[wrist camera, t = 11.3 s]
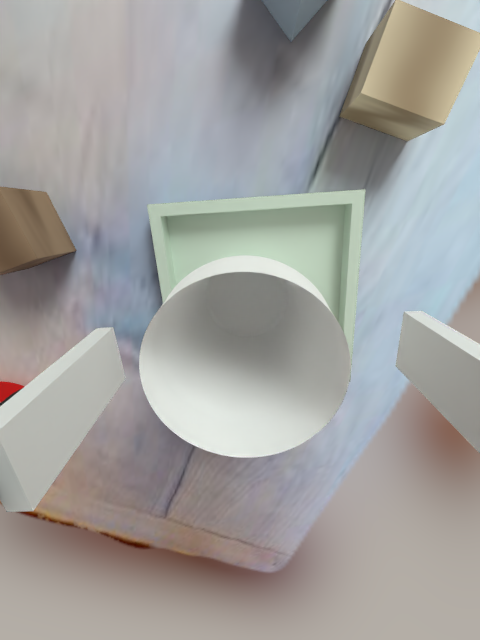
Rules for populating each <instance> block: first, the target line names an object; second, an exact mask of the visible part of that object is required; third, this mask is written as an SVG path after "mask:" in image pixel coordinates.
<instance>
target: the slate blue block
mask: <svg viewBox="0 0 480 640" xmlns="http://www.w3.org/2000/svg"><path fill="white" fill-rule="evenodd" d="M326 1H327V0H262V2H263V3H264V5H265V6H266V7H267V9H268V10H269V12H270V13H271V15H272V16H273V17H274V19H275V20H276V22H277V23H278V24H279V26H280V27H281V29H282V30H283V32H284V33H285V34H286V36H287V37H288V39H289V40H290V42H291V41H292V40H293V39H294V38H295V37H296V36H297V35H298V33H299V32H300V31H301V30H302V29H303V28H304V27H305V25H306V24H307V23H308V22H309V21H310V20H311V19H312V17H313V16H314V15H315V14H316V13H317V12H318V11H319V9H320V8H321V7H322V6H323V5H324V4H325V3H326Z"/></svg>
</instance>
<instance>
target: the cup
mask: <svg viewBox="0 0 480 640" xmlns="http://www.w3.org/2000/svg"><path fill="white" fill-rule="evenodd" d="M350 369H351V362H350V353H349V348H348V344H347V340H346V337H345V335H344V333H343V330H342V328H341V326H340V324H339V323H338V321H337V319H336V318H335V316H334V315H333V313H332V312H331V310H330V308H329V306H328V304H327V303H326V301H325V299H324V297H323V296H322V294H321V293H320V292H319V290H318V289H317V288H316V287H315V286H314V285H313V284H312V283H311V282H310V281H309V280H308V279H307V278H306V277H305V276H303V275H302V274H301V273H299V272H298V271H296V270H295V269H293V268H291V267H289V266H287V265H286V264H283V263H281V262H279V261H276V260H272V259H269V258H265V257H260V256H250V255H240V256H231V257H226V258H221V259H218V260H215V261H212V262H210V263H207V264H205V265H203V266H201V267H199V268H197V269H196V270H194V271H193V272H191V273H190V274H188V275H187V276H186V277H185V278H183V279H182V280H181V281H180V282H179V283H178V284H177V285H176V286H175V287H174V289H173V290H172V291H171V293H170V294H169V295H168V297H167V299H166V300H165V302H164V303H163V305H162V306H161V307H160V309H159V310H158V311H157V313H156V314H155V315H154V317H153V318H152V320H151V322H150V324H149V325H148V327H147V330H146V332H145V334H144V337H143V341H142V344H141V349H140V357H139V371H140V378H141V382H142V386H143V390H144V392H145V395H146V397H147V399H148V401H149V404H150V405H151V407H152V409H153V410H154V412H155V413H156V414H157V416H158V417H159V418H160V420H161V421H162V422H163V423H164V424H165V425H166V426H167V427H168V428H169V429H170V430H171V431H173V432H174V433H175V434H176V435H178V436H179V437H180V438H182V439H184V440H185V441H187V442H188V443H190V444H192V445H194V446H196V447H199V448H201V449H203V450H206V451H209V452H212V453H216V454H219V455H224V456H230V457H244V458H250V457H262V456H268V455H273V454H277V453H281V452H284V451H287V450H289V449H292V448H294V447H296V446H298V445H300V444H302V443H304V442H306V441H307V440H309V439H310V438H312V437H313V436H314V435H316V434H317V433H318V432H319V431H321V430H322V429H323V428H324V427H325V426H326V425H327V424H328V423H329V421H330V420H331V419H332V418H333V416H334V415H335V414H336V412H337V411H338V409H339V407H340V405H341V404H342V402H343V400H344V397H345V394H346V392H347V388H348V384H349V379H350Z"/></svg>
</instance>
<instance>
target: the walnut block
mask: <svg viewBox="0 0 480 640" xmlns="http://www.w3.org/2000/svg"><path fill="white" fill-rule="evenodd" d="M74 251H76V249H75V247H74V245H73V243H72V241H71V239H70V237H69V235H68V233H67V231H66V229H65V227H64V226H63V224H62V222H61V220H60V218H59V216H58V214H57V212H56V210H55V208H54V206H53V204H52V202H51V200H50V198H49V196H48V194H47V192H41V191H33V190H24V189H16V188H7V187H0V275H2V274H7V273H11V272H15V271H19V270H24V269H28V268H31V267H34V266H36V265H39V264H42V263H44V262H47V261H50V260H53V259H55V258H58V257H61V256H63V255H66V254H69V253H72V252H74Z"/></svg>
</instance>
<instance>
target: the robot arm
mask: <svg viewBox="0 0 480 640" xmlns="http://www.w3.org/2000/svg"><path fill="white" fill-rule="evenodd" d="M396 367H397V368H398V369H399V370H400V371H401V372H402V373H403V374H404V375H405V376H406V377H407V378H408V379H409V380H410V382H411V383H412V384H413V385H414V386H415V387H416V388H417V389H418V390H419V391H420V392H421V393H422V394H423V395H424V396H425V397H426V398H427V399H428V400H429V401H430V402H431V403H432V404H433V405H434V406H435V407H436V408H437V410H438V411H440V413H441V414H442V415H443V416H444V417H445V418H446V419H447V420H448V421H449V422H450V423H451V424H452V425H453V426H454V427H455V428H456V429H457V430H458V431H459V432H460V433H461V434H462V435H463V437H464V438H465V439H467V441H468V442H469V443H470V444H471V445H472V446H473V447H474V448H475V449H476V450H477V451H478V452H479V453H480V344H478V343H477V342H475V341H473V340H471V339H470V338H468V337H466V336H464V335H463V334H461V333H459V332H458V331H456V330H454V329H452V328H451V327H449V326H447V325H445V324H444V323H442V322H440V321H438V320H437V319H435V318H433V317H431V316H430V315H428V314H426V313H424V312H423V311H409V312H404V314H403V321H402V327H401V334H400V341H399V347H398V354H397V360H396ZM125 379H126V378H125V374H124V370H123V366H122V362H121V357H120V353H119V349H118V345H117V341H116V337H115V333H114V329H113V327H111V328H97V329H95V330H94V331H93V332H92V333H90V334H89V335H88V336H87V337H85V338H84V339H83V340H82V341H81V342H79V343H78V344H77V345H76V346H74V347H73V348H72V349H71V350H69V351H68V352H67V353H66V354H64V355H63V356H62V357H61V358H60V359H58V360H57V361H56V362H55V363H53V364H52V365H51V366H50V367H48V368H47V369H46V370H45V371H43V372H42V373H41V374H40V375H38V376H37V377H36V378H35V379H34V380H32V381H31V382H30V383H29V384H27V385H26V386H25V387H23V388H22V389H20V390H18V391H16V392H14V393H12V394H11V395H10V396H8V397H7V398H6V399H5V400H3V401H2V402H1V403H0V500H1V502H2V504H3V506H4V508H5V510H6V512H17V511H34V509H35V508H36V506H37V505H38V503H39V502H40V501H41V499H42V498H43V496H44V495H45V493H46V492H47V491H48V489H49V488H50V486H51V485H52V483H53V482H54V481H55V479H56V478H57V476H58V475H59V473H60V472H61V470H62V469H63V468H64V466H65V465H66V463H67V462H68V460H69V459H70V458H71V456H72V455H73V453H74V452H75V450H76V449H77V448H78V446H79V445H80V443H81V442H82V440H83V439H84V438H85V436H86V435H87V433H88V432H89V430H90V429H91V428H92V426H93V425H94V423H95V422H96V420H97V419H98V418H99V416H100V415H101V413H102V412H103V410H104V409H105V408H106V406H107V405H108V403H109V402H110V400H111V399H112V398H113V396H114V395H115V393H116V392H117V390H118V389H119V388H120V386H121V385H122V383H123V382H124V380H125Z"/></svg>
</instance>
